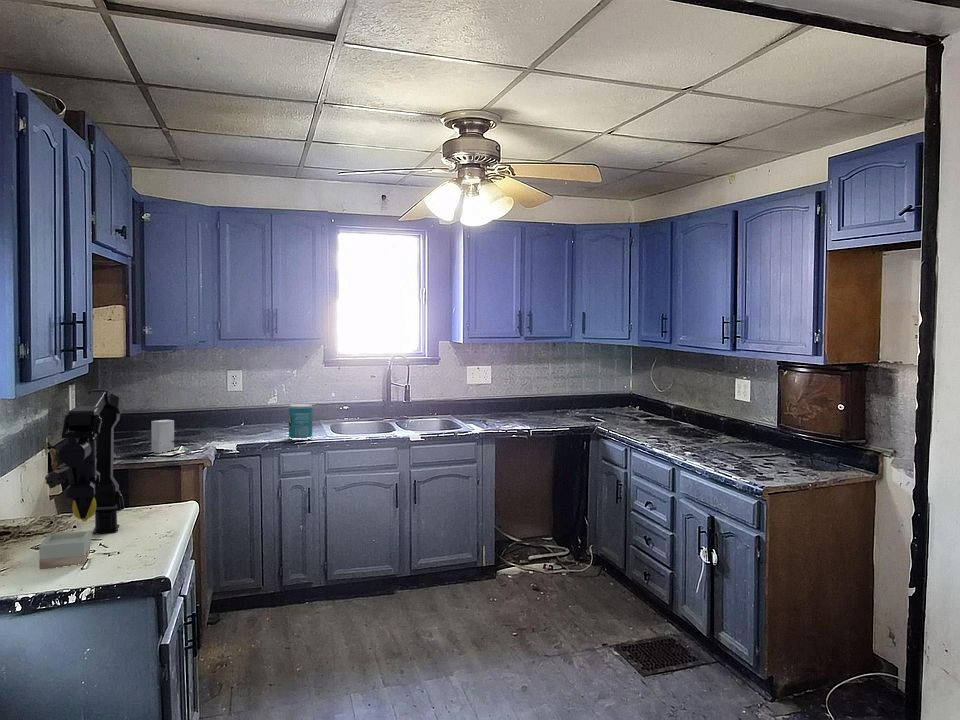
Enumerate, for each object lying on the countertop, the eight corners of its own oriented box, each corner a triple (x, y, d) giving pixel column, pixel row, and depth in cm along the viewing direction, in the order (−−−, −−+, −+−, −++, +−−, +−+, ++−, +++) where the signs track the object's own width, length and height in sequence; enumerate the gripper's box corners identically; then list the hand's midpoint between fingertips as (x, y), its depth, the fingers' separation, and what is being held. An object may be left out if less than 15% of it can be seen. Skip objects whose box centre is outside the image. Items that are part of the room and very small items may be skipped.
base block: (47, 558, 182) (47, 547, 182) (90, 553, 186) (89, 543, 186) (39, 571, 173) (39, 559, 173) (84, 566, 177) (84, 555, 177)
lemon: (68, 521, 180) (68, 491, 180) (90, 517, 185) (90, 488, 184) (78, 525, 177) (77, 495, 177) (100, 521, 181) (100, 491, 181)
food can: (283, 439, 355) (283, 405, 353) (298, 436, 366) (298, 402, 364) (302, 441, 350) (302, 407, 349) (316, 438, 361) (317, 404, 360)
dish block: (48, 546, 182) (48, 533, 182) (91, 543, 186) (91, 530, 186) (39, 559, 173) (39, 545, 173) (84, 555, 176) (84, 542, 176)
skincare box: (159, 454, 313) (158, 422, 312) (150, 452, 316) (150, 420, 315) (175, 451, 320) (174, 419, 319) (166, 449, 323) (166, 418, 322)
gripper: (53, 452, 185) (54, 508, 186) (41, 466, 168) (42, 529, 169) (99, 449, 189) (100, 505, 191) (93, 463, 173) (94, 524, 174)
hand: (84, 515), depth 181 cm, fingers closed on lemon, 5 cm apart
